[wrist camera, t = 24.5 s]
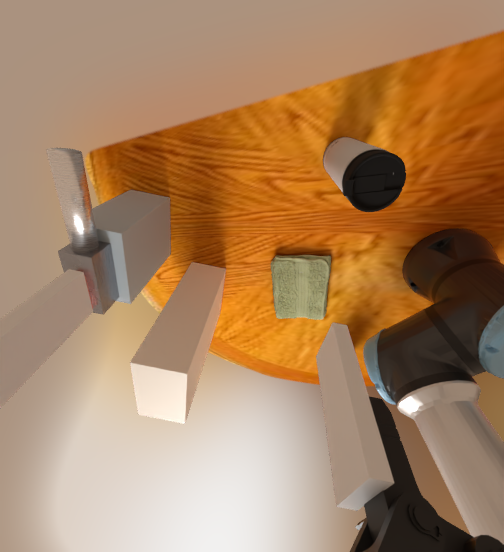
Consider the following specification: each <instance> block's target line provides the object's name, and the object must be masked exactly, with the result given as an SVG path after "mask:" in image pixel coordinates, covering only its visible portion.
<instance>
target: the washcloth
mask: <svg viewBox="0 0 504 552" xmlns="http://www.w3.org/2000/svg"><path fill="white" fill-rule="evenodd" d="M330 265H331V256H330V255H329V256H314V255H298V256H294V255H293V256H292V255H291V256H279V255H276V256H275V258H274V260H272V263H271V271H272V280H273V281H272V282H273V290H274V291H273V295H274V304H275V305H274V306H275V311H276V317H277V318H279V319H283V318H296V317H307V318H308V319H316V320H317V319H319V320H320V319H323V317H325V314H326V306H327V301H326V299H327V291H328V280H329V277H330V276H329V274H330V269H331V267H330Z"/></svg>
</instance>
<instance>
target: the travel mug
mask: <svg viewBox="0 0 504 552" xmlns="http://www.w3.org/2000/svg"><path fill="white" fill-rule="evenodd" d="M323 164H324V168H325V170H326V171H327V172H328V174H329V175H330V176H331V178H332V179H333V181H334V182H335V183H336V185H337V186H338V187H339V189H340V190H341V191H342V193H343V195H344V196H346V198H347V199H348V200H349V201H350V202H351V203H352V205H353V206H354V207H355V208H357V209H358V210H361V211H364V212H375V211H379V210H381V209H384V208H386V207H387V206H389V205H390V204H392V203H393V202H394V201H395V200H396V199H397V198H398V196H399V195H400V193H401V191H402V187H403V186H404V183H405V179H406V173H405V171H406V170H405V165H404V162H403V161H402V159H401V158H399V157H398V156H397V155H395V154H393V153H390V152H388V151H386V150H383V149H381V148H378V147H375V146H372V145H370V144H367V143H364V142H361V141H358V140H356V139H353V138H350V137H341V138H338V139H336V140H334V141H333V142H332V143H331V144H330V145H329V146H328V147H327V148H326V151H325V153H324V156H323Z"/></svg>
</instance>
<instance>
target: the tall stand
mask: <svg viewBox="0 0 504 552" xmlns="http://www.w3.org/2000/svg"><path fill="white" fill-rule="evenodd" d="M225 273H226V269H225V268H220V267H215V266H210V265H205V264H200V263H195V262H192V263H191V264H190V266H189V268H188V269H187V271H186V273H185V274H184V276H183V277H182V279H181V281H180V282H179V284H178V286H177V287H176V289H175V290H174V292H173V294H172V295H171V297H170V299H169V300H168V302H167V303H166V305H165V307H164V308H163V310H162V312H161V313H160V315H159V317H158V318H157V320H156V321H155V323H154V325H153V326H152V328H151V330H150V331H149V333H148V334H147V336H146V338H145V339H144V341H143V343H142V344H141V346H140V348H139V349H138V351H137V352H136V354H135V356H134V357H133V359H132V361H131V362H130V365H131V371H132V377H133V383H134V389H135V396H136V402H137V409H138V414H139V415H143V416H148V417H153V418H158V419H163V420H168V421H173V422H178V423H183V424H185V422H186V419H187V416H188V413H189V410H190V407H191V403H192V400H193V397H194V394H195V391H196V387H197V384H198V381H199V378H200V375H201V372H202V368H203V365H204V362H205V359H206V356H207V353H208V350H209V347H210V344H211V340H212V337H213V334H214V331H215V328H216V325H217V321H218V318H219V315H220V310H221V303H222V295H223V288H224V280H225Z"/></svg>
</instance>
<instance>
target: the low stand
mask: <svg viewBox="0 0 504 552" xmlns="http://www.w3.org/2000/svg"><path fill="white" fill-rule="evenodd" d="M92 210H93V215H94V221H95V226H96V231H97V236H98V241H102V242H107V243H111V247H112V254H113V260H114V266H115V272H116V279H117V285H118V291H119V298H118V299H117V300H116V301H119V302H124V303H129V304H131V303H132V301H133V300H134V299H135V298H136V297H137V295H138V294H139V293H140V292H141V290H142V289H143V288H144V287H145V285H146V284H147V283H148V282H149V280H150V279H151V278H152V277H153V275H154V274H155V273H156V272H157V270H158V269H159V268H160V267H161V265H162V264H163V263H164V262H165V260H166V259H167V258H168V257H169V255H170V254H171V232H170V197H165V196H160V195H155V194H150V193H145V192H141V191H136V190H129V191H127V192H125V193H123V194H121V195H119V196H117V197H115V198H113V199H111V200H109V201H107V202H105V203H103V204H101V205H99V206H97V207H95V208H93V209H92Z"/></svg>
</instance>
